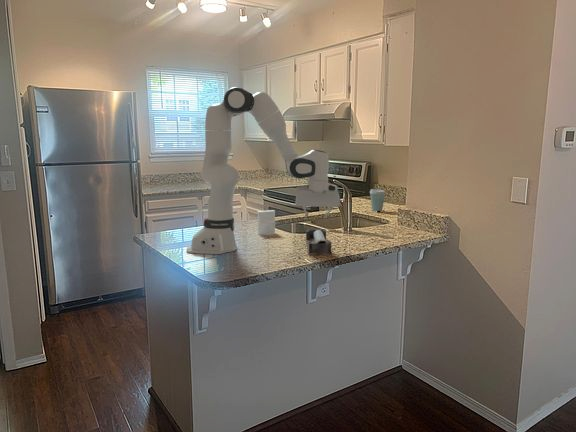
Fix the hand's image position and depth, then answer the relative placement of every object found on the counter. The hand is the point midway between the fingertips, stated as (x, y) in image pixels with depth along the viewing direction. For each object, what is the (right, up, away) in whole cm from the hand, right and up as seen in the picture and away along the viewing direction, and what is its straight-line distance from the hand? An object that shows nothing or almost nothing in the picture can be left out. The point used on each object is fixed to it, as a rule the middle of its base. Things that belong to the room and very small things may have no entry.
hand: (317, 216), depth 196 cm
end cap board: (+1, -14, +3) cm, 14 cm away
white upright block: (-25, -9, +30) cm, 40 cm away
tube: (+1, -13, +2) cm, 14 cm away
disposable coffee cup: (+47, +3, +96) cm, 107 cm away
